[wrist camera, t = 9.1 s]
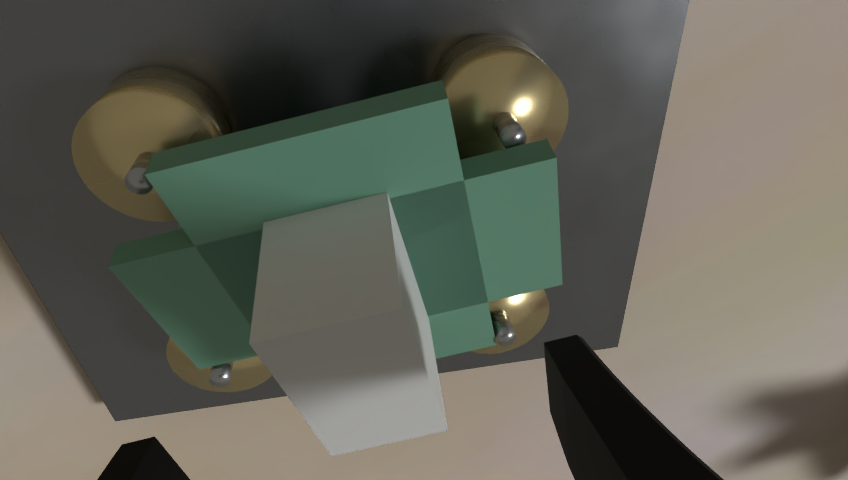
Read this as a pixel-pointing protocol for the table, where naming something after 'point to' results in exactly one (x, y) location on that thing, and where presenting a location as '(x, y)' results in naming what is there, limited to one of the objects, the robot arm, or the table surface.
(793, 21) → the table surface
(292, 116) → the chassis
